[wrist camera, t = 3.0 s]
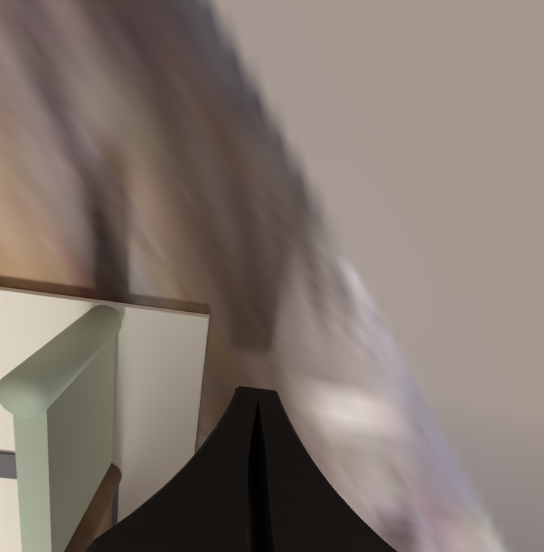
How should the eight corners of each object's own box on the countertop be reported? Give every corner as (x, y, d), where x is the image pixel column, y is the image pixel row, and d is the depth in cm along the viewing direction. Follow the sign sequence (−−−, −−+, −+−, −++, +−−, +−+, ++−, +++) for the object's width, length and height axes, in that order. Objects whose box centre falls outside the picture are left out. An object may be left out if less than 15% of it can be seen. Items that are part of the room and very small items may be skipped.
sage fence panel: (117, 462, 14) (55, 582, 10) (85, 459, 14) (10, 578, 10) (122, 307, 12) (48, 376, 8) (86, 302, 12) (-6, 369, 8)
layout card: (178, 600, 17) (176, 610, 17) (-83, 577, 16) (-91, 587, 16) (209, 314, 13) (207, 318, 12) (-140, 267, 12) (-153, 271, 12)
